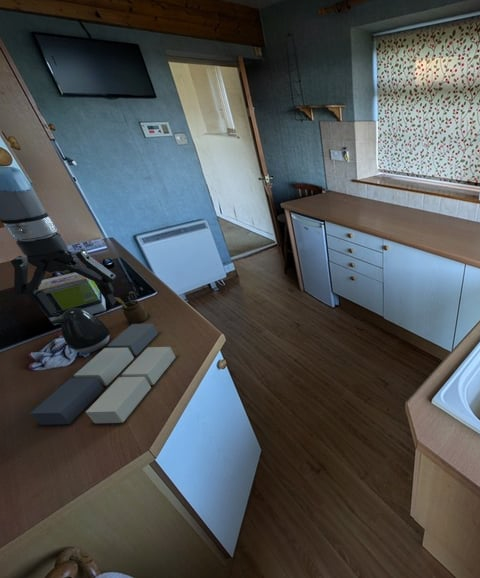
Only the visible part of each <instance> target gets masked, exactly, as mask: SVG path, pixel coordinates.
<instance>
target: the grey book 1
mask: <svg viewBox="0 0 480 578" xmlns="http://www.w3.org/2000/svg"><path fill="white" fill-rule="evenodd" d="M104 390H105V388H104V386H102V385H101V383H100V382H99V381H98V379H97V378H75V377H69V379H67V380H66V381H65V382H63V384H62V385H61V386H59V387H58V388H57V389H56V390H55V391H54V392H53V393H51V394H50V395H49V396H48V397H46V399H44V400H43V402H41V403H39V405H38V406H36V407H35V408H34V409H33V410H32V411H31V412H30V413H29V414H30V415H31V417H33V419H35V420H36V422H38V423H39V424H40V426H44V425H49V426H50V425H71V424H72V423H73V422H74V421H75V419H77V417H78V416H79V415H80V414H82V412H83V411H84V410H85V409H86V408H87V407H88V406H89V405H90V404H91V403H92V402H93V401H94V400H95V399H96V398H97V397H98V396H99V395H100V394H101V393H102V392H103V391H104Z"/></svg>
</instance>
